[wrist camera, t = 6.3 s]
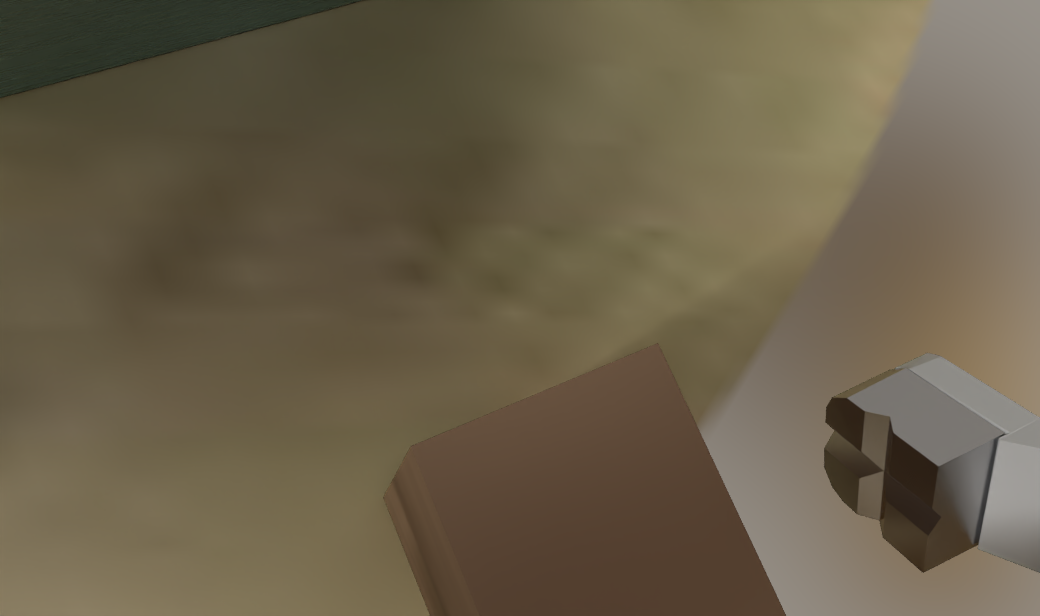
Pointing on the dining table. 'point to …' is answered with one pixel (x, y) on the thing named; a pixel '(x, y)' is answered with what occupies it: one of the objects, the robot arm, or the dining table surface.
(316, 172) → the dining table surface
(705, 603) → the walnut block
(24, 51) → the blue-gray slotted box
